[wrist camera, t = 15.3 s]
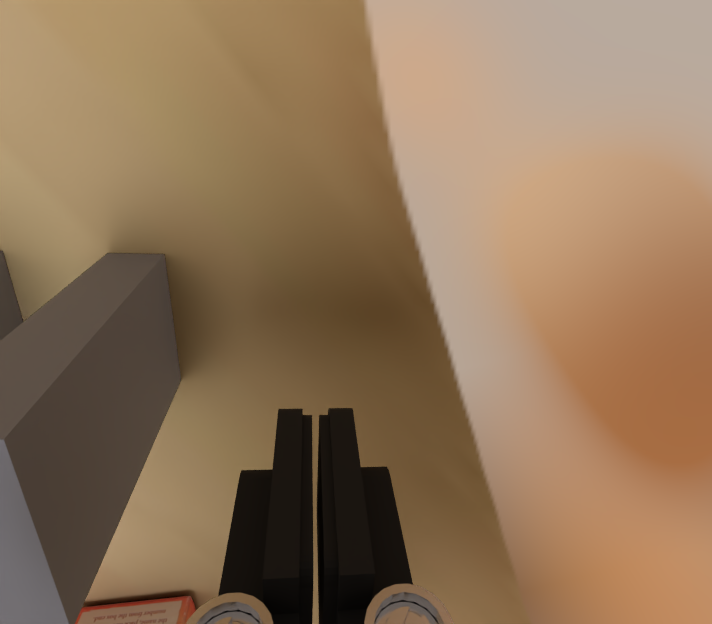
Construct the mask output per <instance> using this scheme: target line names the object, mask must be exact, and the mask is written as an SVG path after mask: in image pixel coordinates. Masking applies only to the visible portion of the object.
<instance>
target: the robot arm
mask: <svg viewBox="0 0 712 624" xmlns="http://www.w3.org/2000/svg"><path fill="white" fill-rule="evenodd" d="M317 545H318V597H319V624H454V623H453V621H452V618H451V616H450V615H449V613H448V611H447V609H446V608H445V606H444V604H443V603H442V602H441V601H440V600H439V599H438V598H437V597H436V596H435V595H434V594H432V593H431V592H429V591H427V590H425V589H424V588H422V587H419V586H415V585H413V583H412V578H411V573H410V569H409V564H408V559H407V554H406V549H405V545H404V540H403V535H402V530H401V526H400V521H399V516H398V511H397V507H396V502H395V497H394V492H393V487H392V483H391V478H390V474H389V470H388V468H387V467H361V466H360V459H359V452H358V444H357V437H356V430H355V422H354V415H353V409H352V408H329V410H328V415H319V444H318V481H317ZM312 608H313V483H312V415H302V409H279V410H278V419H277V430H276V440H275V451H274V461H273V470H242V471H241V473H240V478H239V483H238V489H237V494H236V500H235V505H234V511H233V517H232V522H231V528H230V533H229V539H228V545H227V550H226V556H225V562H224V567H223V573H222V578H221V584H220V590H219V595H218V596H217V597H215V598H212V599H211V600H209V601H208V602H206V603H205V604H203V605H202V606H200V607H199V608H198V609H197V610H196V611H195V612H194V613H193V615H192V616H191V617H190V618H189V619H188V620H187V622H186V624H312Z"/></svg>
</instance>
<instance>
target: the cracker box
mask: <svg viewBox="0 0 712 624" xmlns="http://www.w3.org/2000/svg"><path fill="white" fill-rule="evenodd" d="M195 611H196V609H195V606H194V602H193V600H192V598H191V596H182V597H175V598H164V599H154V600H145V601H137V602H127V603H117V604H108V605H99V606H90V607H82V609H81V611H80V613H79V615H78V618H77V620H76V622H75V624H186V622H187V620H188V619H189V618H190V617H191V616H192V615H193V613H194V612H195Z"/></svg>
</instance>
